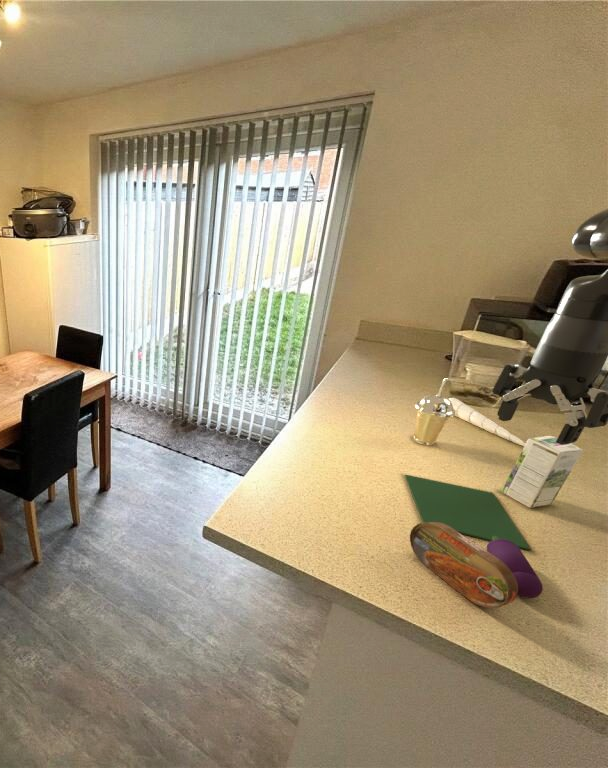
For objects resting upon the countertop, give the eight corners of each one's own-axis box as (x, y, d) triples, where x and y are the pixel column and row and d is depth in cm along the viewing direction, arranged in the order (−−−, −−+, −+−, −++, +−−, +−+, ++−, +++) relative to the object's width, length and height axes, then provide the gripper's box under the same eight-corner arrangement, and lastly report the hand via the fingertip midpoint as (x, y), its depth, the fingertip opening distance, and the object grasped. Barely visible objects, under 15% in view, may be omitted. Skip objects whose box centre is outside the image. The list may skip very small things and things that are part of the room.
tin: (403, 548, 74) (416, 513, 71) (416, 545, 75) (430, 510, 71) (493, 621, 60) (515, 582, 57) (509, 616, 61) (531, 577, 58)
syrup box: (520, 488, 89) (548, 433, 83) (552, 506, 84) (584, 448, 78) (500, 492, 88) (527, 436, 83) (531, 509, 83) (562, 451, 77)
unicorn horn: (517, 450, 103) (524, 435, 101) (437, 410, 125) (442, 397, 123) (533, 449, 104) (541, 434, 102) (451, 410, 125) (456, 396, 124)
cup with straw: (420, 431, 113) (443, 367, 105) (453, 447, 105) (480, 379, 97) (396, 435, 111) (418, 370, 104) (428, 452, 103) (454, 383, 95)
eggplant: (506, 550, 73) (516, 532, 71) (541, 608, 62) (553, 588, 61) (476, 543, 75) (485, 525, 73) (505, 597, 64) (515, 578, 62)
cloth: (491, 494, 88) (492, 492, 88) (529, 550, 73) (530, 549, 73) (404, 475, 94) (405, 474, 94) (423, 524, 79) (424, 523, 79)
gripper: (657, 355, 57) (602, 450, 64) (538, 330, 70) (502, 411, 76) (619, 359, 56) (567, 455, 62) (505, 333, 69) (471, 415, 75)
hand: (531, 431), depth 69 cm, fingers open, 8 cm apart
